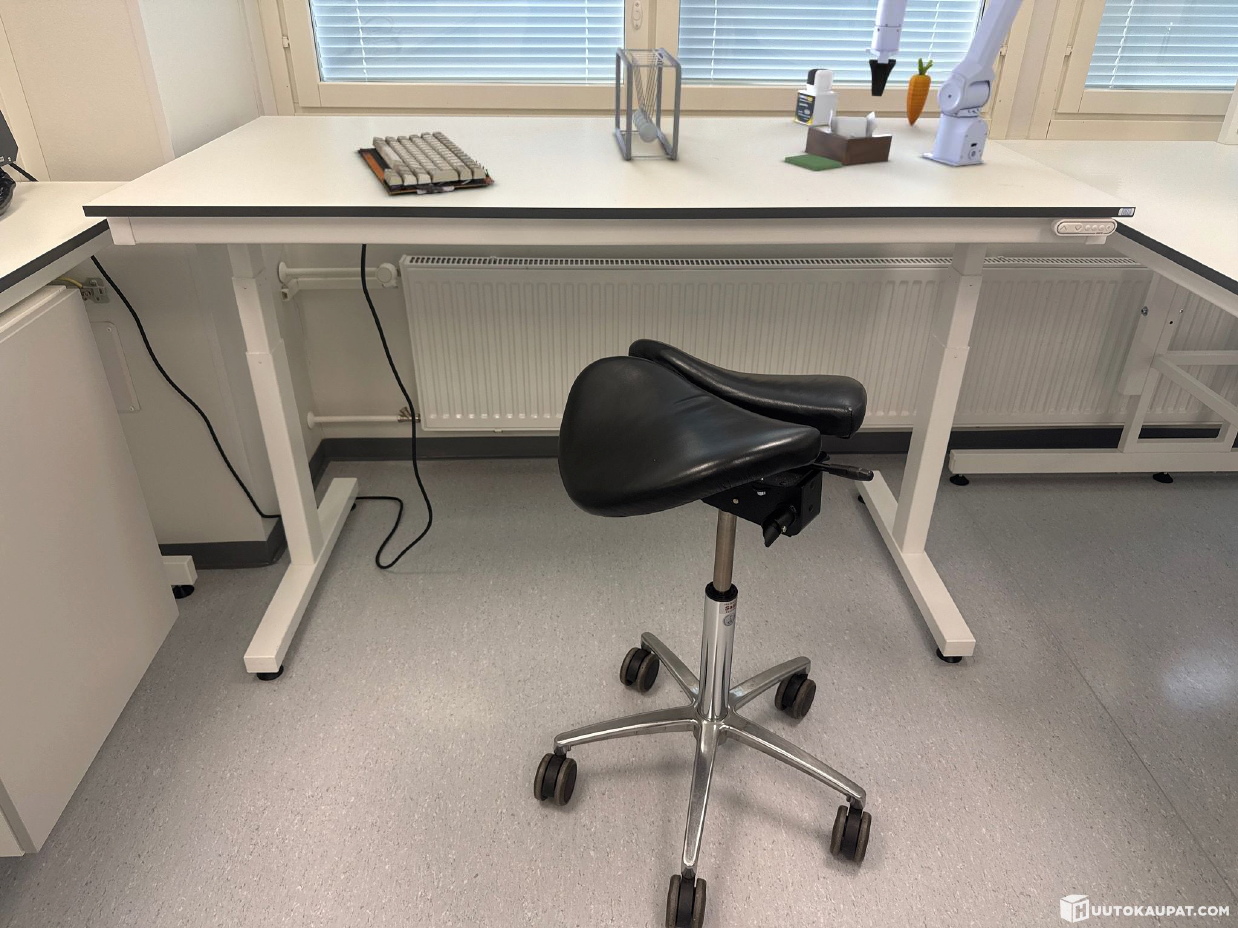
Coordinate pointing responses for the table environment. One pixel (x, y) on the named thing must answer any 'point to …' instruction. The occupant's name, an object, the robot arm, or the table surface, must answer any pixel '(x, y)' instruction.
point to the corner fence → (848, 147)
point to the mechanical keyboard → (423, 164)
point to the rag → (813, 162)
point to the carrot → (918, 92)
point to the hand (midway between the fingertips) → (876, 96)
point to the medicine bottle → (817, 99)
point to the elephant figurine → (852, 125)
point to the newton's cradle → (641, 116)
